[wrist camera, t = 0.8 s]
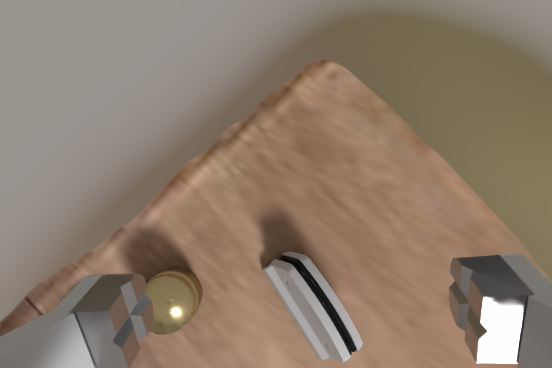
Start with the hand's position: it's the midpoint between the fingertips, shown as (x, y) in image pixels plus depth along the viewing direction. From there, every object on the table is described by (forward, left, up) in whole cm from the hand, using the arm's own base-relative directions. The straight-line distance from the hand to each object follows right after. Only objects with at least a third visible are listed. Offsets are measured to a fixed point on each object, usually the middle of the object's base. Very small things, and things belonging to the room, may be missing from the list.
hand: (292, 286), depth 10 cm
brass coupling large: (-9, +19, -47) cm, 52 cm away
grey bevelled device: (-15, -1, -47) cm, 49 cm away
